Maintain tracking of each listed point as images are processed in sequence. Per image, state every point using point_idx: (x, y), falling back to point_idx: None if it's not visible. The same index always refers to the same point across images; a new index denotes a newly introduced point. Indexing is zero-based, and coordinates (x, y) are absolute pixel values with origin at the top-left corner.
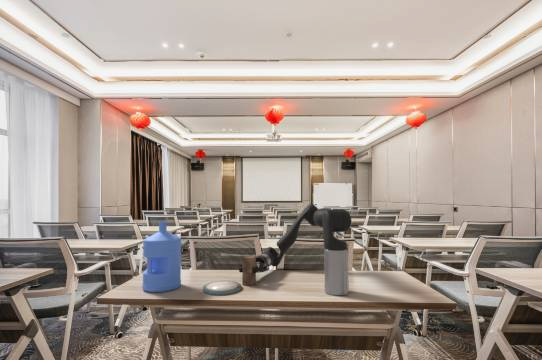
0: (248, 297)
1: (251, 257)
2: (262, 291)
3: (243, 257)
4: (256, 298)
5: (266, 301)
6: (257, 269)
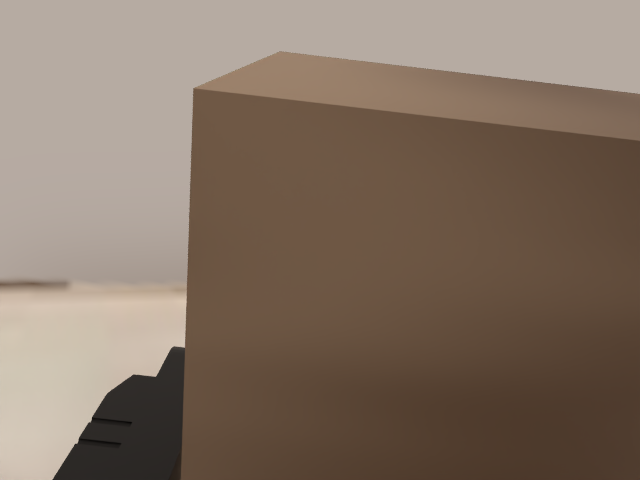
0: (180, 321)
1: (341, 67)
2: (15, 459)
3: (622, 93)
4: (101, 311)
5: (12, 280)
6: (78, 463)
